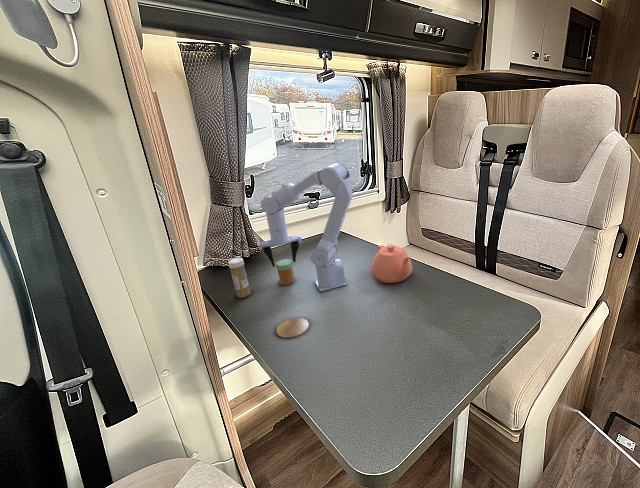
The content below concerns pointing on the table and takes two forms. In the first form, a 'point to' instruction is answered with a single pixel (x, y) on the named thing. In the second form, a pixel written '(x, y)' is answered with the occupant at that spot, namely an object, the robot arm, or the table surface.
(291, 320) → the coaster
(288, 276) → the jar
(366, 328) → the table surface
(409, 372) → the table surface
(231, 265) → the sprinkles bottle
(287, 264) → the lid
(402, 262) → the teapot
